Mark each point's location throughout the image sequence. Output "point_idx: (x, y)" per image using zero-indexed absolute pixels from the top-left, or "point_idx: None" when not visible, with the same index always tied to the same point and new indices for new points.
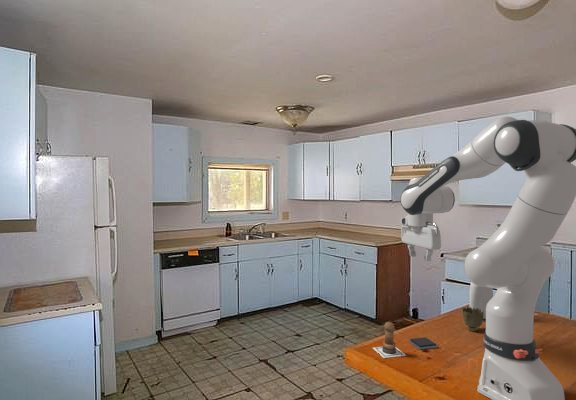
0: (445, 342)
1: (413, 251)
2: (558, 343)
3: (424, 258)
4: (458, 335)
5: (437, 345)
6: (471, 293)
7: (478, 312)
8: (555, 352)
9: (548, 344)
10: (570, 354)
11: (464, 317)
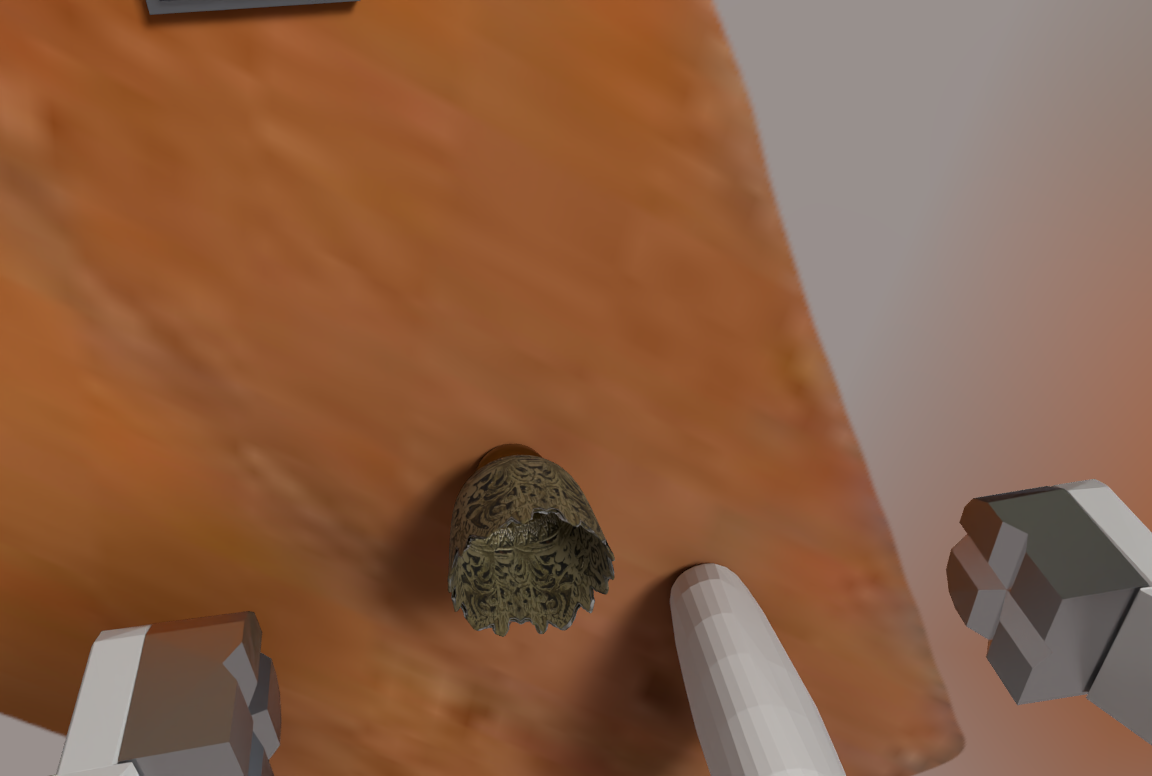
0: (285, 147)
1: (1102, 667)
2: None
3: (231, 652)
4: (428, 326)
5: (148, 7)
6: (751, 708)
7: (549, 602)
8: None
9: None
10: None
11: (530, 481)
